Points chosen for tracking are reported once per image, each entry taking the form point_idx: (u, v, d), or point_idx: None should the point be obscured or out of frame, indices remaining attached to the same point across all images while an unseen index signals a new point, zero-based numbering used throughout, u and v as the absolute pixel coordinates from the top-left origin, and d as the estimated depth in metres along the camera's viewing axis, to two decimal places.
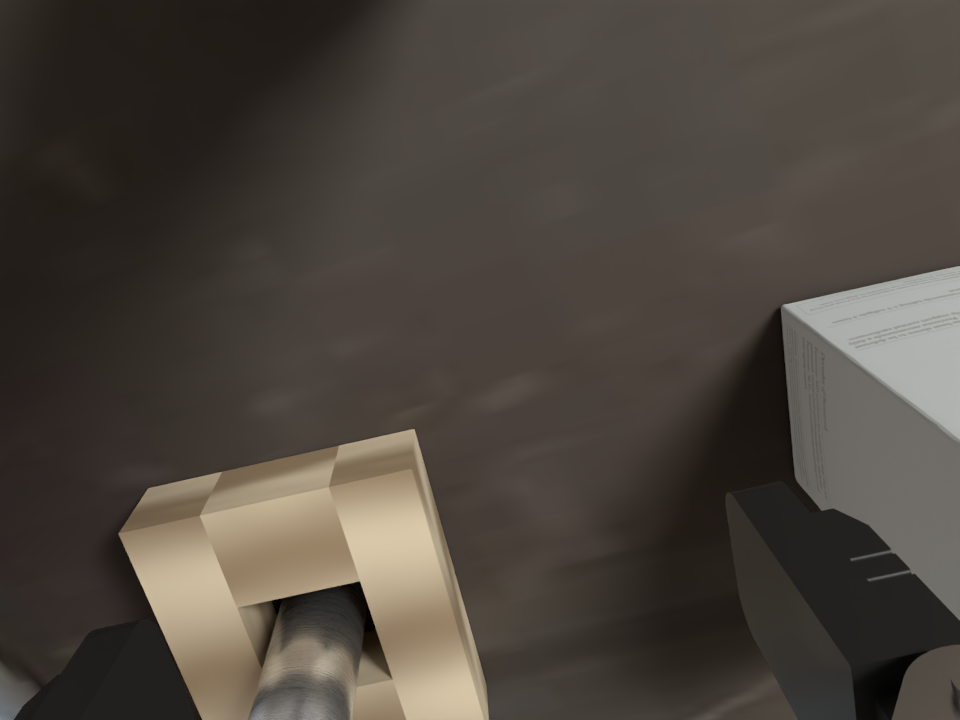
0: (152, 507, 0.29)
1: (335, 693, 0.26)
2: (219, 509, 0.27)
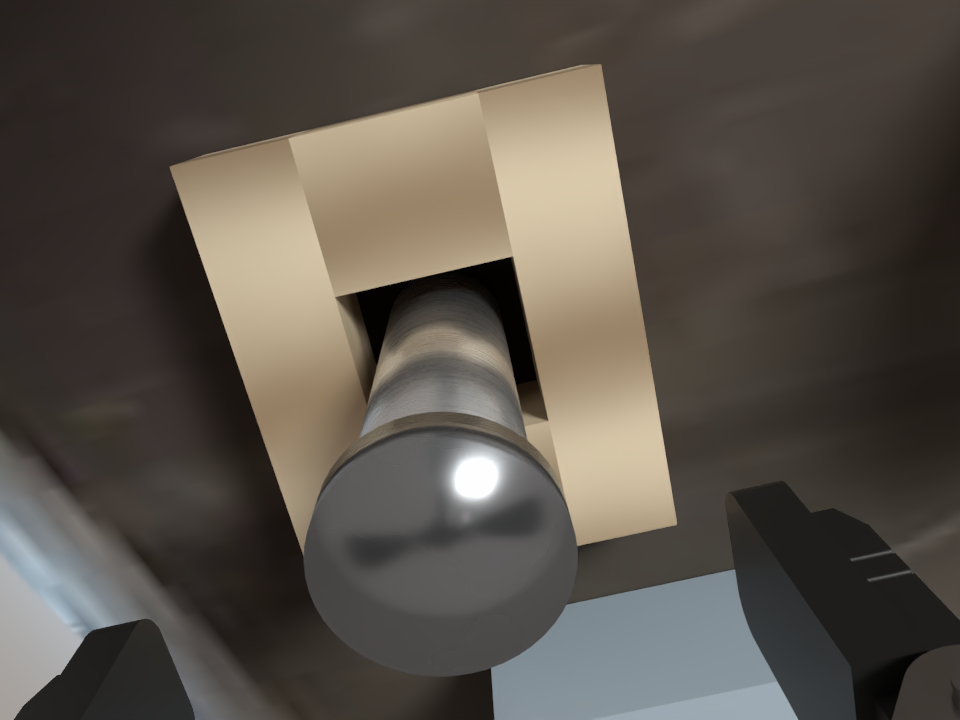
0: (215, 153, 0.20)
1: (500, 367, 0.17)
2: (316, 133, 0.19)
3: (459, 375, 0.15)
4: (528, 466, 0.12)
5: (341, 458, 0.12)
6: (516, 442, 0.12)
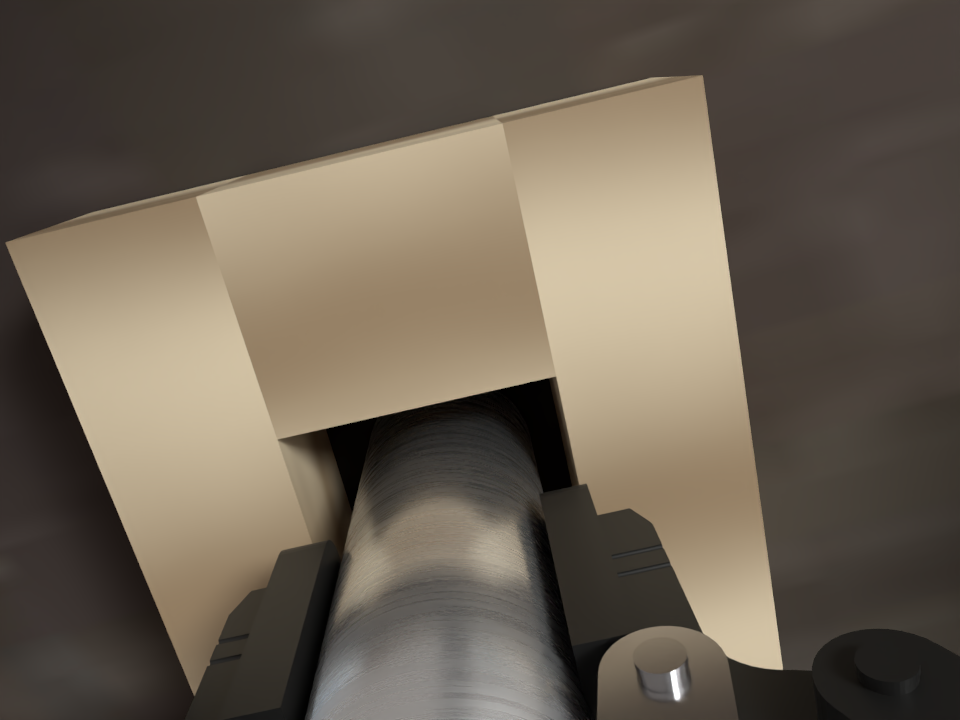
0: (93, 216, 0.13)
1: (547, 604, 0.10)
2: None
3: (481, 667, 0.08)
4: None
5: None
6: None
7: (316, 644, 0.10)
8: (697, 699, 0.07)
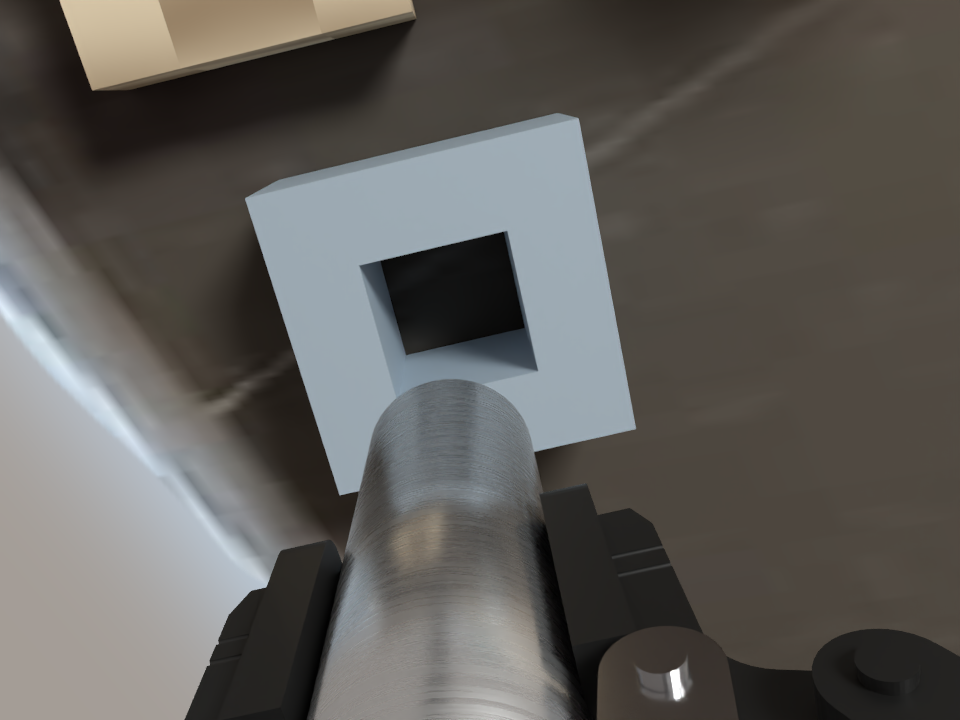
0: None
1: (549, 607, 0.10)
2: None
3: (482, 672, 0.08)
4: None
5: None
6: None
7: (316, 645, 0.10)
8: (697, 699, 0.07)
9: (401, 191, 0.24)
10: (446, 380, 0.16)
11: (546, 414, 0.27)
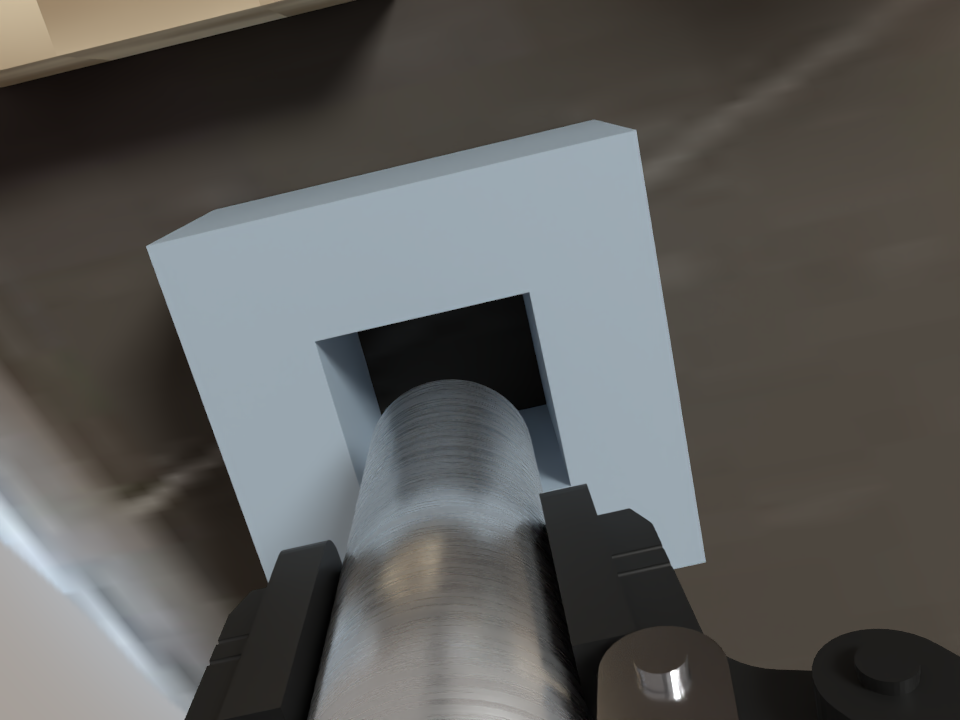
0: None
1: (548, 608, 0.10)
2: None
3: (482, 673, 0.08)
4: None
5: None
6: None
7: (317, 645, 0.10)
8: (697, 699, 0.07)
9: (375, 236, 0.17)
10: (446, 380, 0.16)
11: None
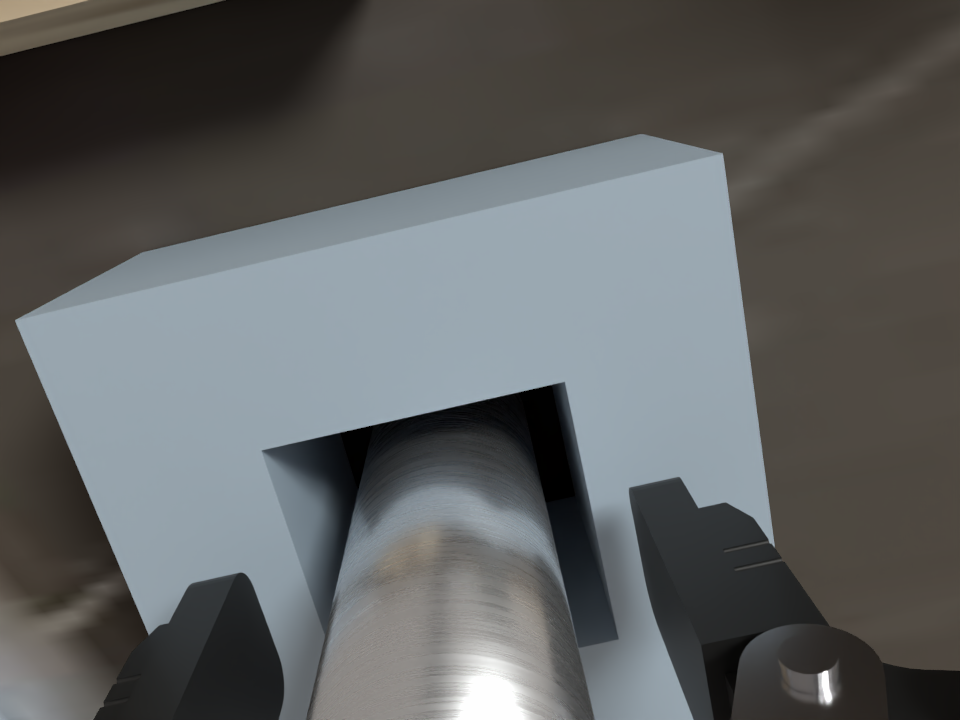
0: None
1: (536, 538, 0.11)
2: None
3: (476, 581, 0.09)
4: None
5: None
6: None
7: (212, 686, 0.10)
8: (856, 701, 0.07)
9: (344, 306, 0.12)
10: None
11: (631, 712, 0.14)
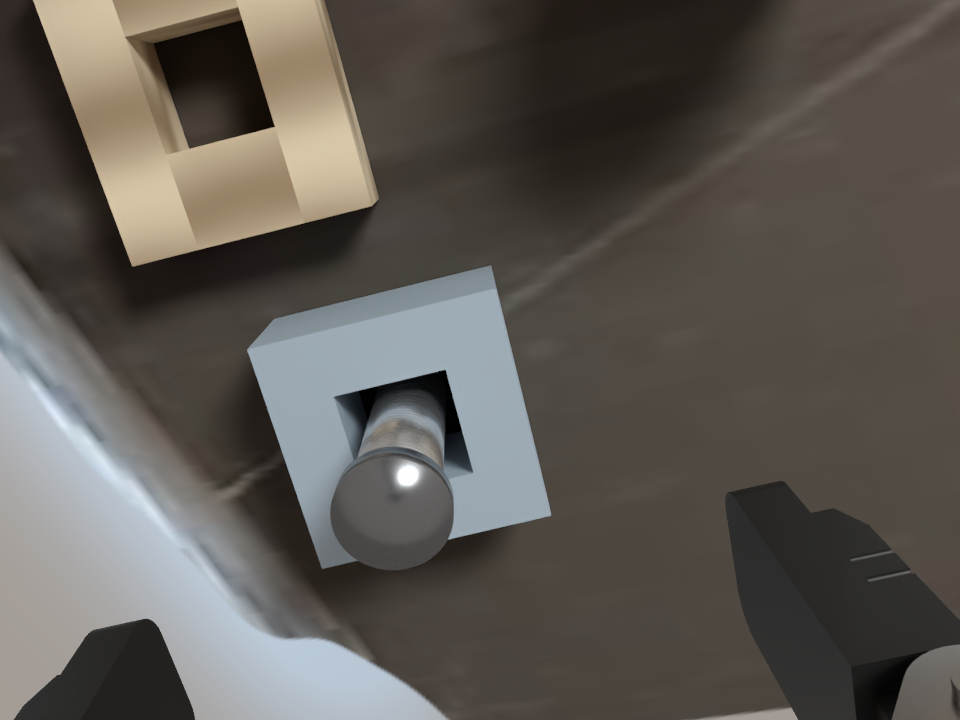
0: None
1: (431, 423, 0.32)
2: None
3: (406, 428, 0.30)
4: (428, 470, 0.26)
5: (346, 468, 0.27)
6: (425, 460, 0.27)
7: None
8: None
9: (364, 343, 0.32)
10: None
11: (481, 505, 0.34)
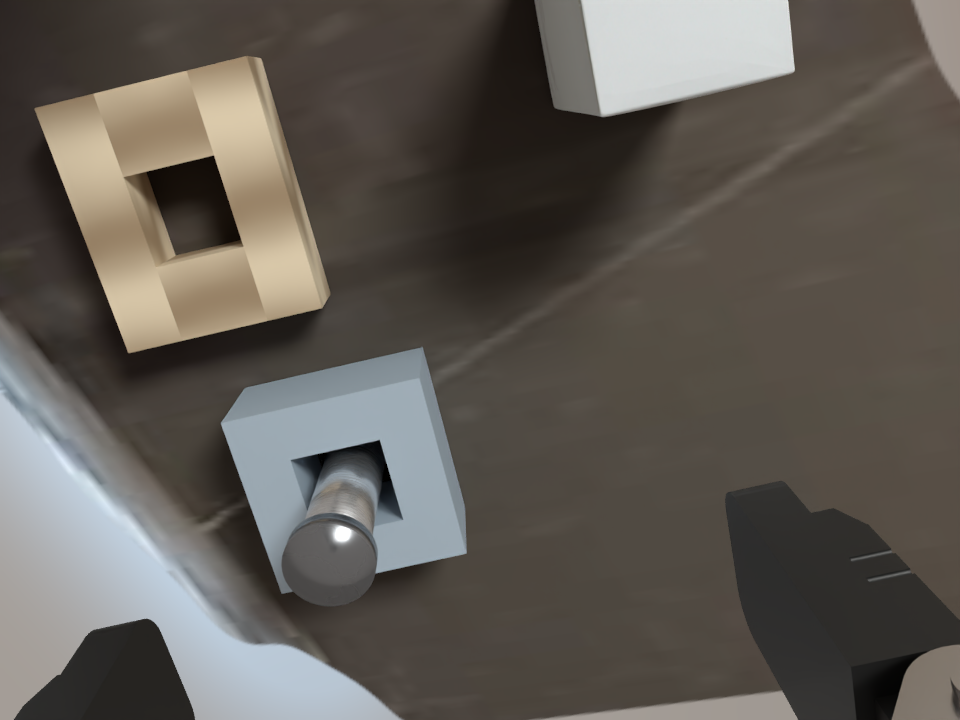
0: None
1: (367, 484, 0.40)
2: None
3: (345, 492, 0.38)
4: (356, 532, 0.35)
5: (294, 529, 0.35)
6: (354, 523, 0.35)
7: None
8: None
9: (314, 418, 0.41)
10: None
11: (409, 545, 0.43)
